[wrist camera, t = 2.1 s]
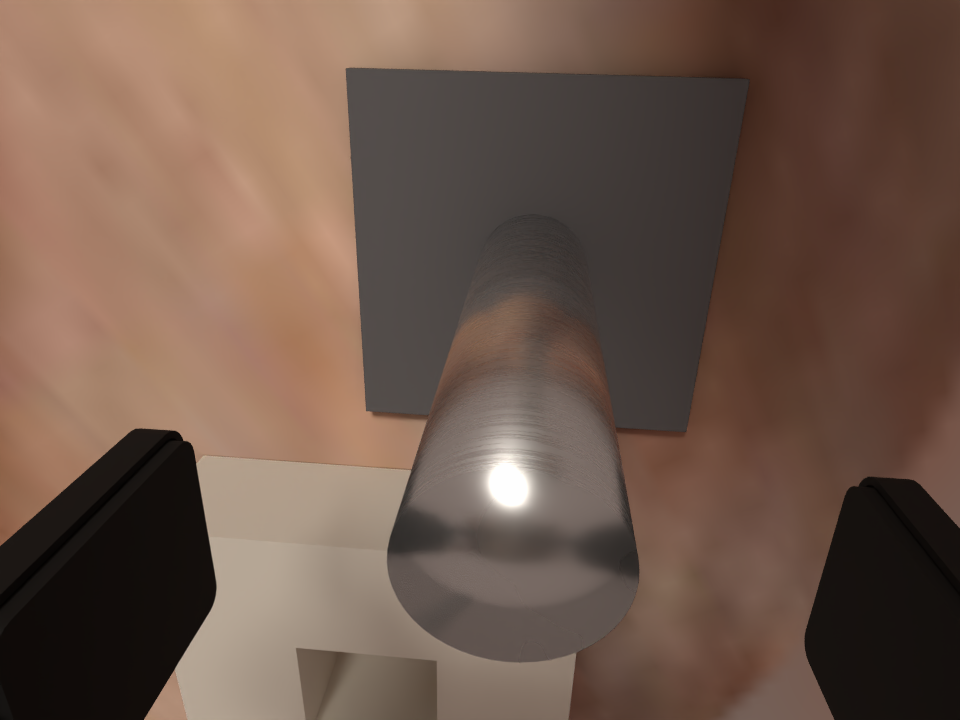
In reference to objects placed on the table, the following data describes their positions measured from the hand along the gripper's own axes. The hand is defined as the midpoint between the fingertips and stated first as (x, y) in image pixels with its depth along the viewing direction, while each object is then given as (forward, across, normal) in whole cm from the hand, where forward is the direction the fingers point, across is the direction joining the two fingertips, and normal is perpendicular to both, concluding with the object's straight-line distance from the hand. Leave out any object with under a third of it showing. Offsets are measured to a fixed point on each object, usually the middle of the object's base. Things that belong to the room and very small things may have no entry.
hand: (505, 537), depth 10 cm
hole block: (+11, +4, +13) cm, 18 cm away
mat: (+11, 0, -1) cm, 11 cm away
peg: (+10, 0, -1) cm, 10 cm away
